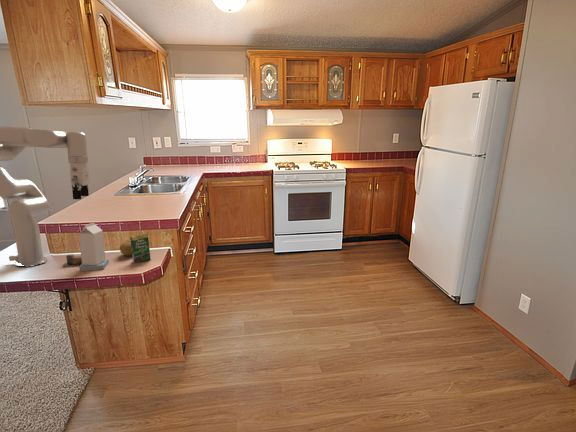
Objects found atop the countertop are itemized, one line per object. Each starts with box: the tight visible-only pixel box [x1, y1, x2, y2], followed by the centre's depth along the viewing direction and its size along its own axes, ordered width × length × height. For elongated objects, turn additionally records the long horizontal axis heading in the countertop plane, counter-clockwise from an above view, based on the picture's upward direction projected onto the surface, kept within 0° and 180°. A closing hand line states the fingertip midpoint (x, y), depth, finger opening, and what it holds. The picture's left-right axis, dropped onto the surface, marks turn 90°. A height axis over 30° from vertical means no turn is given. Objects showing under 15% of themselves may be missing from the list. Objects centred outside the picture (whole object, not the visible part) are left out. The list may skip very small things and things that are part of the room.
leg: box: [65, 254, 82, 265], centre depth 164 cm, size 16×3×4 cm, turn 108°
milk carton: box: [78, 221, 106, 265], centre depth 158 cm, size 7×7×19 cm
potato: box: [119, 239, 132, 257], centre depth 178 cm, size 10×14×8 cm
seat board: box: [78, 258, 110, 272], centre depth 160 cm, size 10×9×2 cm
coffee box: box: [130, 233, 151, 263], centre depth 167 cm, size 8×3×13 cm, turn 127°
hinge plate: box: [62, 262, 81, 268], centre depth 163 cm, size 7×7×1 cm
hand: (81, 197), depth 155 cm, fingers open, 9 cm apart
